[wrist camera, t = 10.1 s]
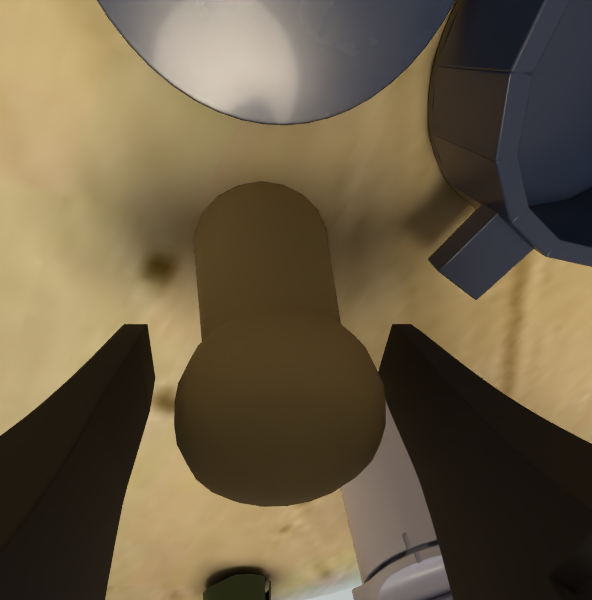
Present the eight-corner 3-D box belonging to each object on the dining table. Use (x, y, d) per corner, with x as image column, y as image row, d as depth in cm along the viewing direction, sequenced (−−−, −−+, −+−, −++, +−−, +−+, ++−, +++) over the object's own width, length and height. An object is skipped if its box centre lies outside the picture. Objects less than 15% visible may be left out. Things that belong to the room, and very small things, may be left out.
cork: (242, 151, 15) (248, 313, 6) (353, 232, 17) (481, 433, 8) (169, 265, 17) (90, 510, 8) (277, 322, 20) (311, 557, 11)
